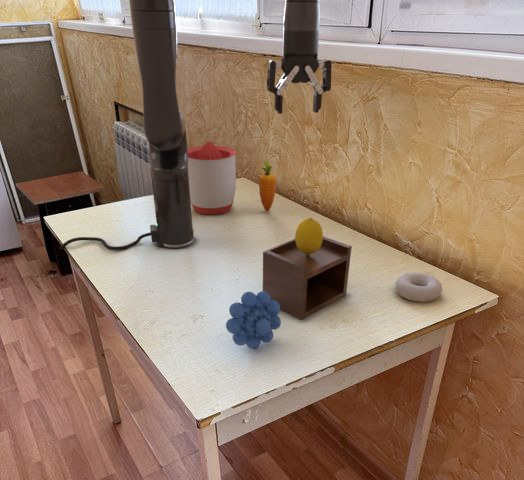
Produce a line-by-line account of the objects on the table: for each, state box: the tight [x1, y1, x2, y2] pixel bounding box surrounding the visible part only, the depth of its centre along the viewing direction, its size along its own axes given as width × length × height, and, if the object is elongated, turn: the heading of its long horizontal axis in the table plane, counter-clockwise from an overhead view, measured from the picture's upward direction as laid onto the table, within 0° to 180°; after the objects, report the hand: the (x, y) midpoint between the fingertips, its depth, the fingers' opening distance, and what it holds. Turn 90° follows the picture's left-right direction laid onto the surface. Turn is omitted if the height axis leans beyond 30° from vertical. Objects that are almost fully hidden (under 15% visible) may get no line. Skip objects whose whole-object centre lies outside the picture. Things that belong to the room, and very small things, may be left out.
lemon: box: [294, 217, 324, 256], centre depth 100 cm, size 6×6×8 cm
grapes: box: [225, 290, 282, 350], centre depth 88 cm, size 12×7×12 cm, turn 125°
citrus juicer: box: [187, 140, 237, 215], centre depth 148 cm, size 16×17×20 cm
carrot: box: [258, 159, 277, 213], centre depth 148 cm, size 5×5×15 cm
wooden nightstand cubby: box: [262, 235, 352, 321], centre depth 104 cm, size 15×11×12 cm
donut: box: [394, 272, 443, 303], centre depth 109 cm, size 10×4×10 cm
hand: (297, 112), depth 113 cm, fingers open, 8 cm apart
